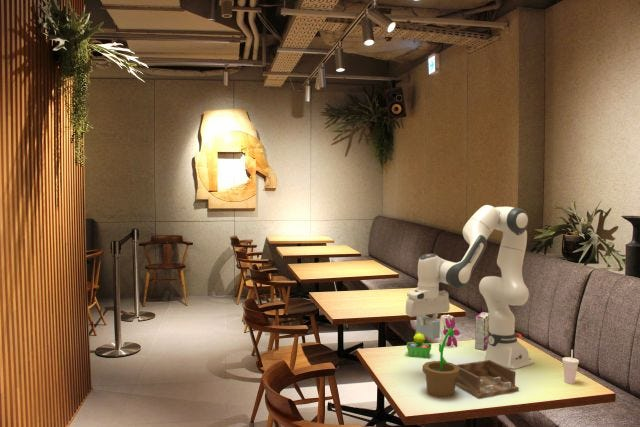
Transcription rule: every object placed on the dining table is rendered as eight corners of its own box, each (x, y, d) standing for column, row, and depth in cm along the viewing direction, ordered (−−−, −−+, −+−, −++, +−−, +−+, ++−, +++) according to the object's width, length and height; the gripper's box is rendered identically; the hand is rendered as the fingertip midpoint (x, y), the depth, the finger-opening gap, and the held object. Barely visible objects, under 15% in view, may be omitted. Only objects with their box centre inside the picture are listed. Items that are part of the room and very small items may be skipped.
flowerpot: (466, 397, 213) (468, 321, 211) (432, 401, 209) (435, 323, 207) (447, 384, 227) (449, 312, 225) (415, 387, 223) (417, 314, 221)
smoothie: (570, 386, 227) (572, 352, 226) (557, 380, 232) (559, 348, 231) (581, 383, 230) (583, 350, 229) (568, 378, 235) (569, 346, 234)
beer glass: (453, 348, 274) (454, 318, 273) (439, 347, 276) (440, 317, 275) (453, 344, 281) (454, 315, 280) (439, 343, 283) (440, 314, 282)
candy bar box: (480, 343, 284) (481, 311, 283) (490, 345, 281) (491, 313, 280) (474, 349, 274) (475, 316, 273) (484, 350, 272) (485, 317, 270)
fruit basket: (406, 356, 261) (406, 333, 260) (407, 351, 269) (408, 328, 269) (430, 359, 258) (431, 335, 257) (431, 353, 267) (432, 330, 266)
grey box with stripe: (416, 331, 241) (416, 315, 240) (423, 330, 242) (423, 314, 242) (432, 339, 230) (432, 322, 229) (439, 337, 231) (439, 321, 231)
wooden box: (489, 376, 236) (490, 359, 236) (518, 391, 221) (519, 372, 220) (451, 383, 228) (451, 365, 228) (478, 398, 213) (479, 379, 212)
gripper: (443, 288, 242) (443, 319, 243) (403, 293, 233) (403, 325, 234) (452, 291, 236) (452, 323, 237) (411, 296, 228) (411, 329, 229)
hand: (427, 324), depth 236 cm, fingers closed on grey box with stripe, 4 cm apart
